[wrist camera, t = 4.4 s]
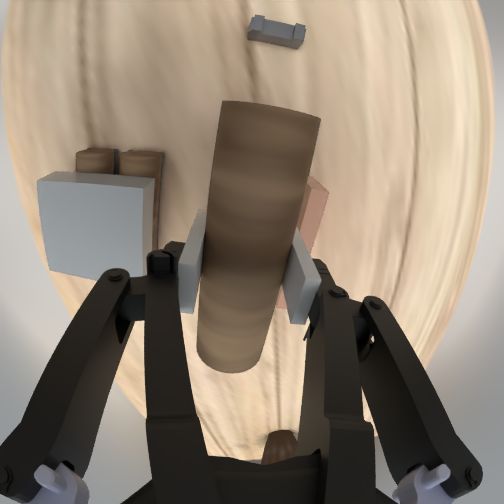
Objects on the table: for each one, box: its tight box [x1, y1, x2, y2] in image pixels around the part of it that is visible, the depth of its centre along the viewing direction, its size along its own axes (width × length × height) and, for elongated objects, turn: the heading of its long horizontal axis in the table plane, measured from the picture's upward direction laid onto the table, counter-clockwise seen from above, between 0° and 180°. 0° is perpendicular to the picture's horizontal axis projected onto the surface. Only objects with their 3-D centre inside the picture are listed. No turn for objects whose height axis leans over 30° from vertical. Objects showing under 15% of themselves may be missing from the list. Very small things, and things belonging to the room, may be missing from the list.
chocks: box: [87, 148, 163, 243], centre depth 35 cm, size 16×23×1 cm
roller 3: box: [196, 101, 321, 373], centre depth 15 cm, size 16×5×5 cm, turn 170°
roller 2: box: [119, 151, 162, 251], centre depth 32 cm, size 16×5×5 cm, turn 169°
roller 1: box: [76, 149, 114, 175], centre depth 31 cm, size 16×5×5 cm, turn 169°
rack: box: [248, 15, 306, 49], centre depth 26 cm, size 16×6×4 cm, turn 169°
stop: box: [276, 176, 329, 309], centre depth 34 cm, size 16×2×7 cm, turn 169°
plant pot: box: [261, 430, 297, 465], centre depth 64 cm, size 15×15×16 cm
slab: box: [37, 171, 155, 281], centre depth 28 cm, size 12×14×4 cm
